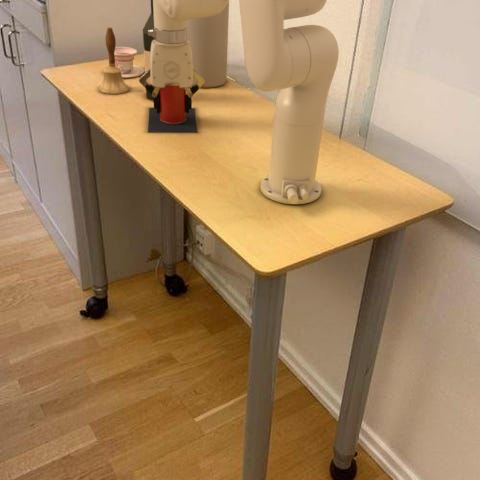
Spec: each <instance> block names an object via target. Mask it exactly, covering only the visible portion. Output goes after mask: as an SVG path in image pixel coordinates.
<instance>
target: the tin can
mask: <svg viewBox="0 0 480 480" xmlns="http://www.w3.org/2000/svg"><path fill="white" fill-rule="evenodd" d="M179 85H180V83H165V87H164V88H160V90H159V106H160V121H161V122H162V123H165V124H170V125H177V124H182V123H184V122H186V91H185V88H180V87H179Z"/></svg>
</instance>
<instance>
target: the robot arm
mask: <svg viewBox="0 0 480 480" xmlns="http://www.w3.org/2000/svg"><path fill="white" fill-rule="evenodd" d="M228 1H229V2H230V0H153V12H154V28H153V29H151V30H148V36H152V37H153V38H155V39H154V40H153V41H152V44H151V53H150V68H149V69H148V70H147V71H146V72H145V71H144V73H143V74H142V75H140V77H139V78H138V82H139V83H140V84H141V86H143V88H144V89H145V91H146V90H147V91H148V92H149V93H150V94H151V95H152V96H153V100H154V101H153V100H152V101H153V108H154V109H157V113H160V106H159V94H158V92H159V90H160V88H164V87H165V83H180V85H179V87H180V88H185V91H186V113H187V114H189V109H192V108H193V107H192V103H193V101H192V98H193V96H194V95H195V94H196V93H197V92H198V91H199V90H200V88H202V87H201V86H202V85H203V84H204V83H205V80H204V78H203V77H202V76H201V75H199V74H198V73H197V72H196V71H195V70H194V69H193V60H192V50H191V45H190V42H189V41H188V40H187V20H191V19H196V18H203V17H211V16H216V15H218V14H219V13H221V12H222V11H223V10H224V8H225V7H226V5H227V3H228ZM238 2H239V14H240V25H241V35H242V44H243V45H242V46H243V56H244V64H245V69H246V72H247V76H248V78H249V80H250V82H251V84H252V85H253V86H254V87H255V88H256V89H257V90H259V91H262V92H267V93H269V92H276V91H278V94H277V97H276V101H275V106H274V114H273V125H272V137H271V147H270V148H271V149H270V160H269V169H268V170H269V171H268V172H269V173H268V175H266V176H265V177H263V179H262V180H261V182H260V191H261V193H262V194H263V196H265V197H266V198H268V199H270V200H272V201H275V202H277V203H279V204H285V205H286V204H287V205H305V204H310V203H312V202H314V201H316V200H318V199H319V198H320V196H321V194H322V189H323V188H322V184H320V182H319V181H318V180H317V179H316V177H317V171H318V170H317V169H318V164H319V156H320V148H321V141H322V135H323V127H324V121H325V115H326V107H327V103H328V102H327V101H328V96H329V92H330V89H331V84H332V82H333V79H334V76H335V73H336V69H337V66H338V62H339V52H340V51H339V44H338V41H337V38H336V37H335V35H334V34H333V33H332V31H330V30H329V29H328V28H327V27H325V26H322V25H318V24H305V25H299V26H292V27H291V26H290V27H288V28H285V23H284V22H285V21H286V20H293V19H299V18H305V17H308V16H309V17H310V16H312V15H315V14H317V13H319V12H320V11H322V10H323V8H324V7H325V5H326V3H327V0H238ZM150 76H151V83H152V85H153V86H154V87H152V86H151V85H150V84H149V83H148V82H147V81H146V80H147V79H148V78H149V77H150ZM193 77H194V78H195V79H196V80H197V82H196V84H194V85H193V86H192V84H193Z"/></svg>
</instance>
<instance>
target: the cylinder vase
mask: <svg viewBox="0 0 480 480" xmlns="http://www.w3.org/2000/svg"><path fill="white" fill-rule="evenodd" d="M229 17H230V0H229V1H228V3H227V5H226V7H225V8H224V10H223V11H222V12H221V13H219V14H218V15H216V16H211V17H203V18H196V19H191V20H187V40H188V41H189V42H190V45H191V50H192V60H193V69H194V70H195V71H196V72H197V73H198V74H199V75H201V76H202V77H203V78H204V80H205V83H204V84H203V85H202V86H201V87H200V88H206V89H207V88H209V89H210V88H216V87H220V86H224V84H225V83H226V82H227V78H228V77H227V75H228V73H227V72H228V48H229V45H228V44H229ZM196 82H197V80H196V79H195V78H194V77H193V84H192V86H193V85H194V84H196ZM192 86H191V87H192Z"/></svg>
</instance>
